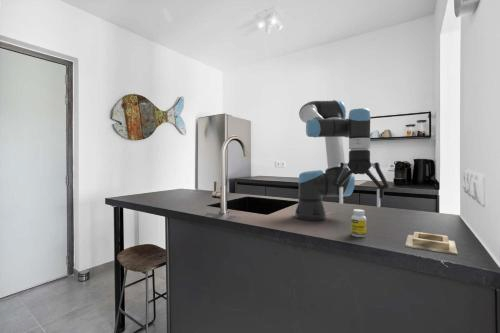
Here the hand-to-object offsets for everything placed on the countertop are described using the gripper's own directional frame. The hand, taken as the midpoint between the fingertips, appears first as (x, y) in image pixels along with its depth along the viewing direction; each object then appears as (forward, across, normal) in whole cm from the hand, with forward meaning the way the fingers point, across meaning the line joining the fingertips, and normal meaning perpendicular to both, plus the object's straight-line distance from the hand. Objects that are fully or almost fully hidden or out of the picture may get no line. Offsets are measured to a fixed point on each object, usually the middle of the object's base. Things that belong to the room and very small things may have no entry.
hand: (359, 205), depth 103 cm
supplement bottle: (+12, 0, 0) cm, 12 cm away
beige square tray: (+12, +23, +2) cm, 26 cm away
